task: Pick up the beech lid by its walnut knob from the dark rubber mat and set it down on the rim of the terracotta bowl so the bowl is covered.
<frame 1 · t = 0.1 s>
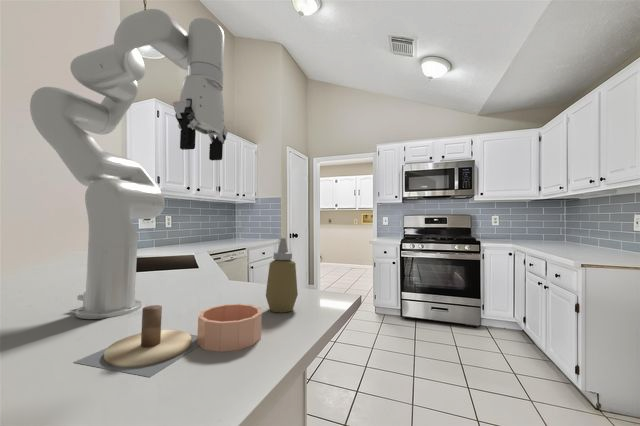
hand: (202, 154, 62), 37 cm above the counter, tool pointing down, fingers open, 9 cm apart
lid: (150, 348, 47), resting on mat
mat: (150, 351, 47), on the counter
bowl: (230, 339, 52), on the counter
squeeze bottle: (281, 310, 71), on the counter
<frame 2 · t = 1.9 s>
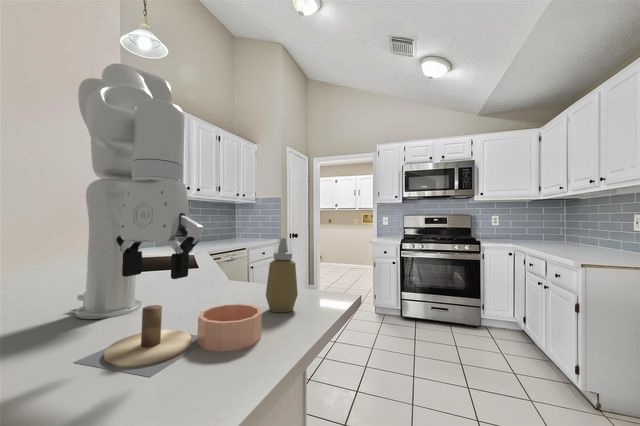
hand: (155, 276, 47), 12 cm above the counter, tool pointing down, fingers open, 9 cm apart
nothing on the counter moved.
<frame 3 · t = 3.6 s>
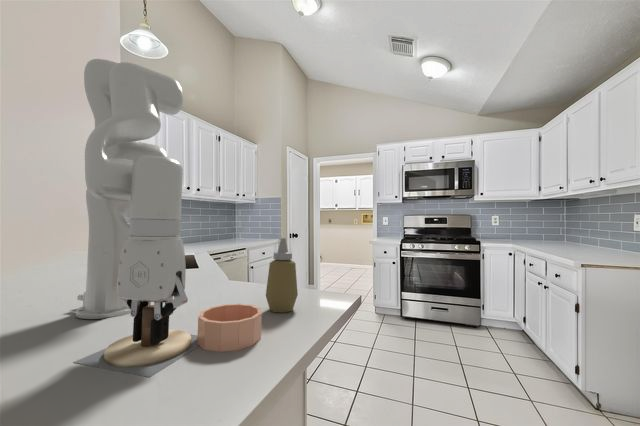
hand: (150, 339, 47), 2 cm above the counter, tool pointing down, fingers closed on lid, 2 cm apart
lid: (150, 348, 47), resting on mat, touching gripper
everything else where it was.
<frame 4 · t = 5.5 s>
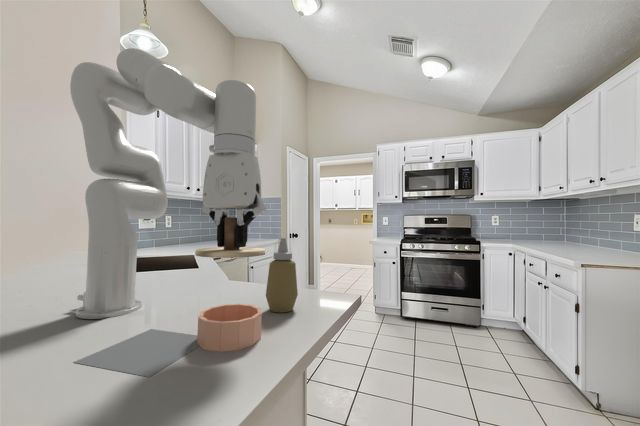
hand: (231, 245, 53), 17 cm above the counter, tool pointing down, fingers closed on lid, 2 cm apart
lid: (231, 253, 53), point 16 cm above the counter, touching gripper
everything else where it was.
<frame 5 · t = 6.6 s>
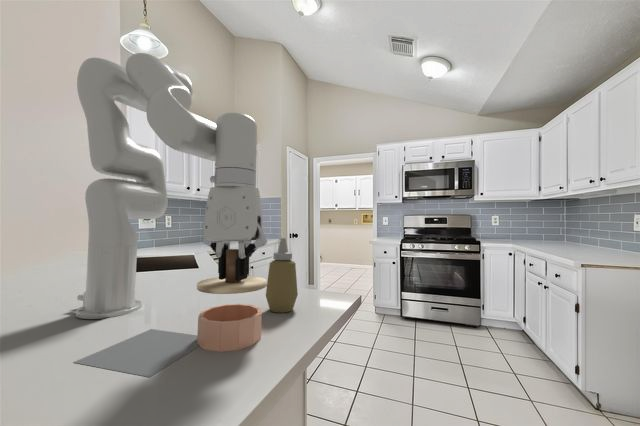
hand: (233, 277, 53), 11 cm above the counter, tool pointing down, fingers closed on lid, 2 cm apart
lid: (233, 286, 52), point 10 cm above the counter, touching gripper
everything else where it was.
when the fingers open (8 cm above the counter, at t = 7.5 s): lid drops 1 cm, resting on bowl.
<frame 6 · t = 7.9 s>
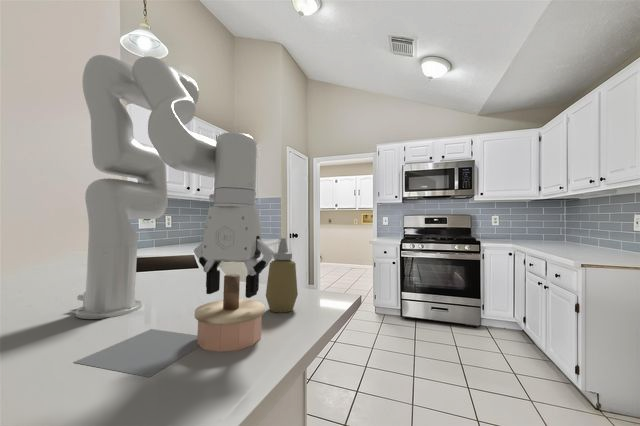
hand: (231, 293, 52), 8 cm above the counter, tool pointing down, fingers open, 7 cm apart
lid: (230, 312, 52), point 5 cm above the counter, touching bowl
everything else where it was.
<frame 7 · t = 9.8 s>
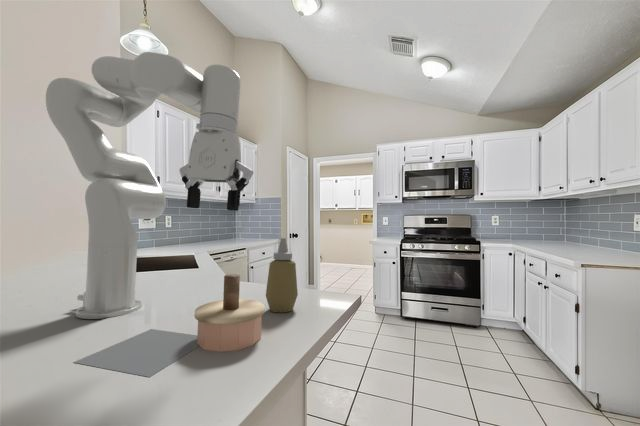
hand: (212, 209, 59), 24 cm above the counter, tool pointing down, fingers open, 9 cm apart
nothing on the counter moved.
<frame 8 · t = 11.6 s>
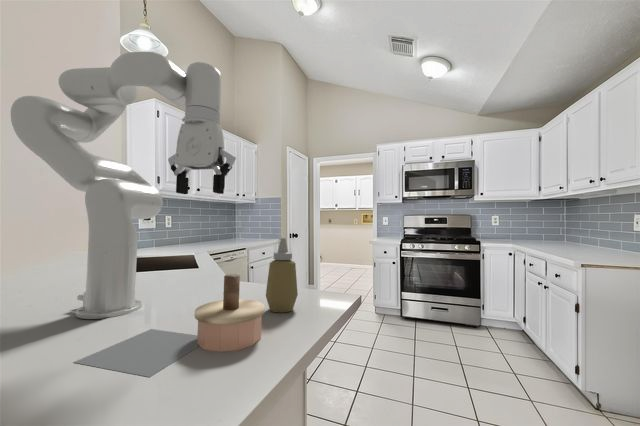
hand: (199, 193, 65), 28 cm above the counter, tool pointing down, fingers open, 9 cm apart
nothing on the counter moved.
at the end: lid 0.0 cm off-centre on the bowl, point 5.0 cm above the bowl's base; lid tilted 0°; the gripper is holding nothing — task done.
